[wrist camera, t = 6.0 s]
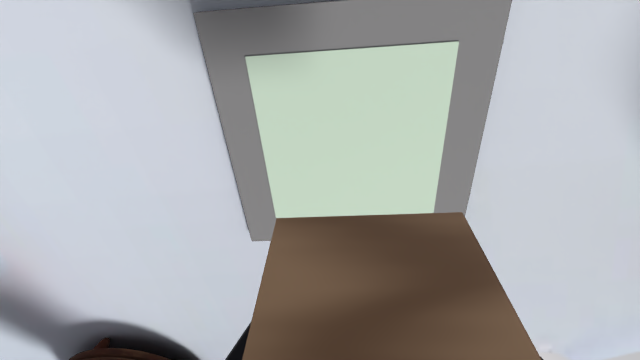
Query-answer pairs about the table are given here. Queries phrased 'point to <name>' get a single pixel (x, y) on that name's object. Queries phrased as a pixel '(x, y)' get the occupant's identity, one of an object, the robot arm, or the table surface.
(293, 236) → the cube
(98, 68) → the table surface
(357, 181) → the mat
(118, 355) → the wooden spool holder
